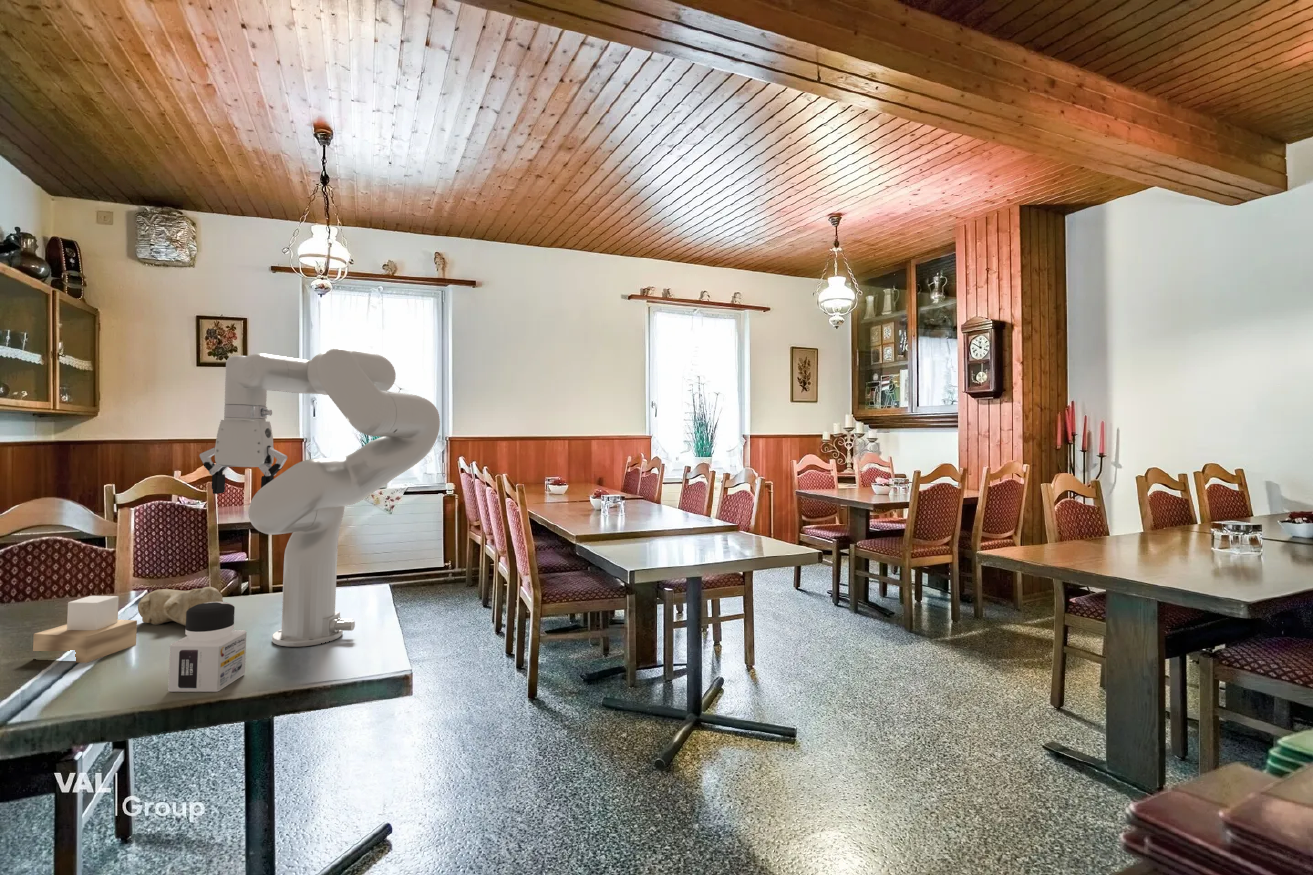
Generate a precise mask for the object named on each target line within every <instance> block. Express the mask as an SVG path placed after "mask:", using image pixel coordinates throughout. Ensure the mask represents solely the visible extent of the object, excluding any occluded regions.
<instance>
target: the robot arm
mask: <svg viewBox="0 0 1313 875" xmlns="http://www.w3.org/2000/svg"><path fill="white" fill-rule="evenodd" d="M395 382H396V370H395V367H394V365H393V364H392V362H391V361H390V360H388V358H385V357H384V356H383V355H381V354H377V353H375V352H369V351H364V350H358V349H353V348H348V347H335V348H330V349H329V350H327V351H326V352H322V353H319V354H316V355H314V356H313V357H312V358H311V359H302V358H301V359H300V358H294V357H289V356H288V357H287V356H282V355H276V354H271V353H270V354H269V353H253V354H250V355H232V356H229V357H228V358H227V360H226V361H225V382H224V409H223V410H224V411H223V412H224V413H223V419H220V422H219V426H218V428H217V429H218V430H217V433H216V440H215V445H214V447H213V448H210V449H208V450H205V451H204V452H201V453H199V455H198V456H199V458H200V460H201V461H202V464H203V467H204V468H205V469H206V470H207V472H208V473H209V475H211V490H212V494H213V495H219V494H224V493H226V492H225V491H226V474H225V473H224V472H225V471H226V470H227V469H228V468H229V467H230V468H231V467H234V468H235V467H239V468H258V469H259V470H260V471H261V473H263V475H261V479H260V489H258V491H256V493H255V494H254V495H253V497H252V499H251V500H250V503H249V506H248V520H249V521H250V523H251V525H252V527H254V529H255V530H256V531H258V532H261V533H263V534H265V535H273V536H274V535H282V534H283V535H285V534H291V535H290V536H289V539H288V541H287V544H286V547H285V549H284V558H283V576H282V577H283V580H282V605H281V606H282V607H281V629H279V630H277V631H275V632H274V633H273V634H272V636H271V642H272V643H273V644H275V645H276V646H281V647H290V648H291V647H292V648H295V647H296V648H297V647H298V648H299V647H310V646H317V645H321V643H322V644H326V643H329V641H330V642H332V641H335V640H338V639H339V638H340V637H341V636H342V635H343V634H342V633H343V632H344V631H348V632H350V631H351V632H352V631H354V629H355V627H356V622H355V620H354V618H342V617H341V612H340V611H336V599H337V597H336V596H337V594H336V593H337V591H336V590H337V567H338V564H337V563H338V552H339V551H338V549H339V537H340V530H341V525H342V523H343V517H344V515H345V514H344V513H345V507H347V506H352V505H355V504H358V503H360V502H361V501H363V500H365V499H366V498H367V497H368V496H370V495H371V494H373V493H376V491H378V490H379V489H381V488H382V487H384V486H386V485H387V484H389V483H390V482H391V481H393V480H395V479H396V478H397V477H398V476H400V475H402V474H403V473H405V472H407V471H408V470H410V469H411V468H413V467H414V466H415V465H417V464H418V463H420V462H421V461H422V460H423V459H424V458H425V457H426V456H427V455H428V454H429V453H430V451H431V450H432V448H433V447H434V446H435V444H436V442H437V438H438V436H439V433H440V425H441V421H440V420H441V418H440V414H439V411H438V409H437V407H436V406H435V404H433V403H432V401H430V400H429V399H427V398H425V397H422V396H419V395H417V394H416V395H415V394H410V393H406V392H405V393H404V392H403V393H401V392H397V391H396V392H395V391H389V390H390V389H391V388H392V387H393V385H394V384H395ZM267 391H271V392H285V393H292V394H293V393H294V394H302V395H303V394H305V395H306V394H308V395H325V396H328V397H329V398H330V399H331V401H332V402H333V403H334V404H335V406H336V407H337V408H338V409H339V410H340V412H341V414H342V415H343V416H344V417H345V419H347V421H348V423H349V424H350V425H351V426H352V427H353V428H354V429H355V430H356V431H358V432H359V433H361V434H363V435H365V436H368V437H369V436H370V437H378V438H376V439H373V440H371V441H369V442H367V443H366V444H363V446H362V447H360V448H358V449H357V450H356V451H354V452H352V453H350V454H349V455H346V456H342V457H325V458H324V457H323V458H321V457H319V458H318V457H317V458H310V459H306V460H303V461H299V462H297V463H295V464H293V465H292V466H291V467H289V468H287V469H286V470H285V471H283V472H282V473H280V474H279V475H278V476H276V475H277V474H278V472H280V471H281V470H282V469H283V466H284V465H285V464H286V461H287V460H288V455H287V454H284V453H282V452H280V451H279V450H276V449H275V448H274V447H275V446H274V437H273V430H272V425H271V422H270V421H268V420H267V419H268V417H270V416H271V417H272V415H273V411H272V409H268V406H267V397H268V396H267V395H268V394H267V393H268V392H267ZM213 456H214V461H215V462H213V461H212V457H213ZM275 459H276V461H275ZM274 461H275V463H274ZM223 473H224V474H223ZM275 476H276V477H275ZM325 642H326V643H325Z"/></svg>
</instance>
